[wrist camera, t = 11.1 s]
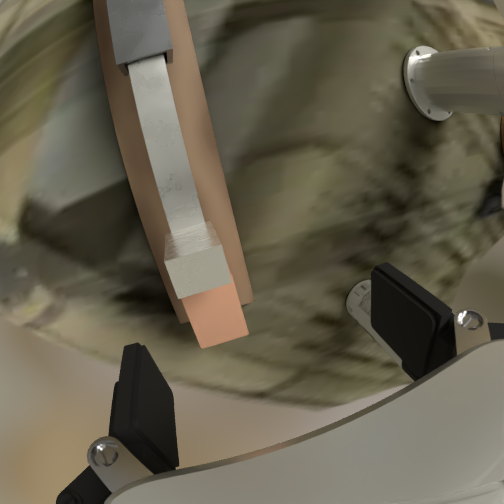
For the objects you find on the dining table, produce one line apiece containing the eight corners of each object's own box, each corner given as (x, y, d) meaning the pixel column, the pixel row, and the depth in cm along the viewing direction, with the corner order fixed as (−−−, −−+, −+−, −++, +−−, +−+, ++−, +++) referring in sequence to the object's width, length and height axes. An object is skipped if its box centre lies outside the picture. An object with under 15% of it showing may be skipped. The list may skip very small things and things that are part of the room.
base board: (170, -50, 20) (171, -55, 19) (251, 295, 39) (254, 301, 38) (92, -28, 18) (90, -34, 17) (179, 317, 38) (180, 324, 37)
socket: (217, 243, 34) (232, 275, 26) (232, 294, 37) (249, 334, 29) (176, 256, 33) (178, 291, 26) (194, 306, 36) (201, 349, 28)
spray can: (339, 316, 45) (415, 401, 27) (351, 277, 43) (442, 356, 25) (371, 313, 47) (447, 387, 29) (383, 277, 45) (471, 345, 27)
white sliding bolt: (164, 34, 21) (161, -9, 12) (229, 292, 32) (250, 344, 23) (121, 46, 20) (101, 9, 12) (193, 303, 31) (203, 359, 23)
